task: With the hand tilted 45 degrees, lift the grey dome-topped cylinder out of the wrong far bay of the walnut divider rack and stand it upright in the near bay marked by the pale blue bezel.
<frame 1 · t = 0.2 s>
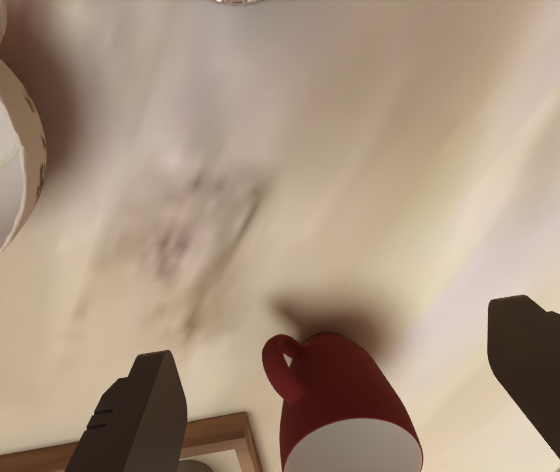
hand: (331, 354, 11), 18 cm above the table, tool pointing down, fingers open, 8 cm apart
mug: (312, 343, 33), on the table
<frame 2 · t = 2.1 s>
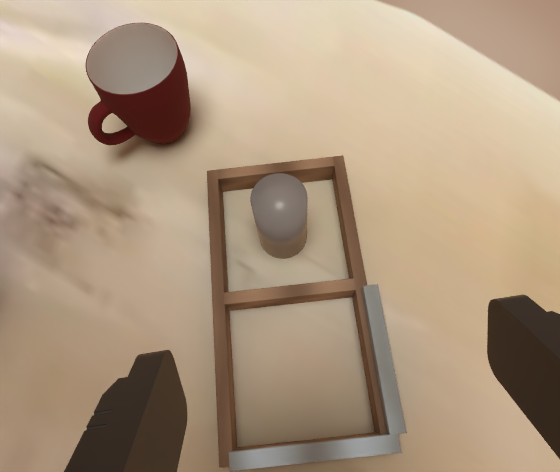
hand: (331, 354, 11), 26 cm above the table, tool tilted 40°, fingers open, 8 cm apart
grey dome-topped cylinder: (283, 236, 40), resting in divider rack
divider rack: (290, 298, 38), on the table
mug: (158, 137, 45), on the table
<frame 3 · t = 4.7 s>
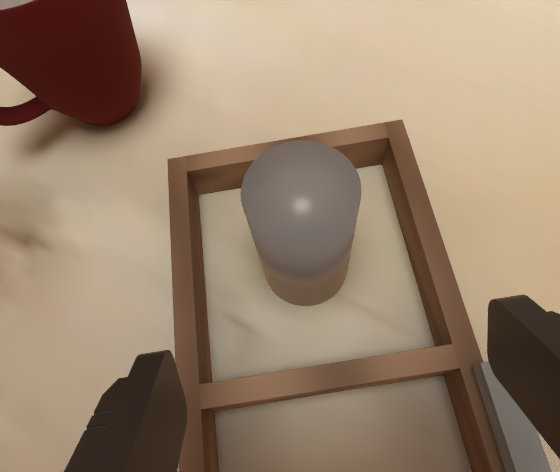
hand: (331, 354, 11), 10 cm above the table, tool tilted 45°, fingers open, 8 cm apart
grey dome-topped cylinder: (305, 265, 23), resting in divider rack
divider rack: (326, 382, 20), on the table
mug: (97, 116, 29), on the table
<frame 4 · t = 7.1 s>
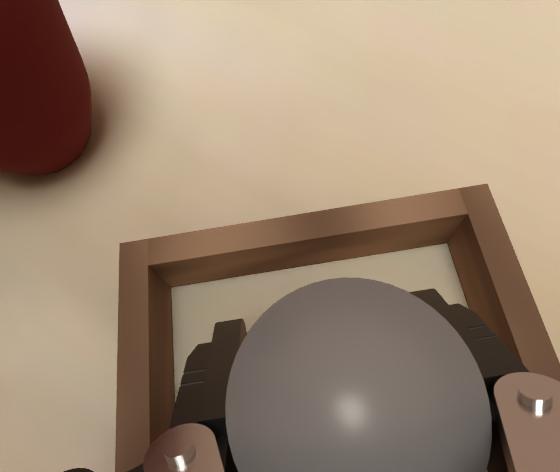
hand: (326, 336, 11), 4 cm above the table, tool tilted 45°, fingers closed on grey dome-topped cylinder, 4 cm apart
grey dome-topped cylinder: (334, 415, 14), resting in divider rack, touching gripper
mug: (32, 160, 20), on the table
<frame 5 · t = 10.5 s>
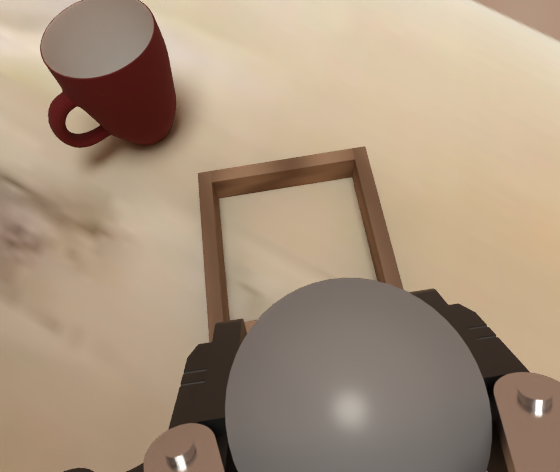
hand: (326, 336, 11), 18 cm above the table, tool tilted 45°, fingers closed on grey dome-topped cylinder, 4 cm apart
grey dome-topped cylinder: (335, 415, 14), point 14 cm above the table, touching gripper
divider rack: (308, 327, 30), on the table
mug: (140, 137, 38), on the table
when the fingers open (5 cm above the table, at t = 13.9 s): grey dome-topped cylinder drops 1 cm, resting in divider rack.
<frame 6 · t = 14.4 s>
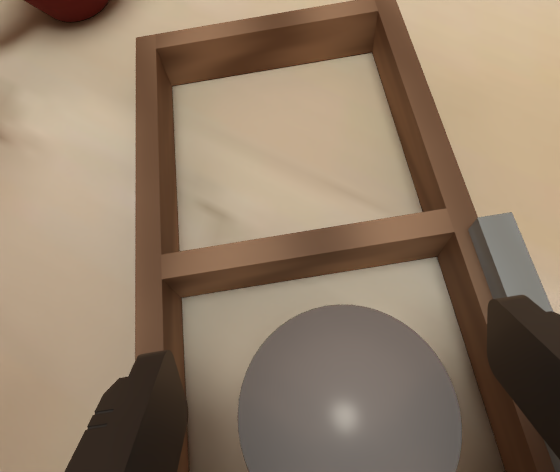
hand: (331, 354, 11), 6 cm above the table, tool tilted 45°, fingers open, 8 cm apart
grey dome-topped cylinder: (333, 418, 16), resting in divider rack
divider rack: (306, 266, 18), on the table
mug: (66, 15, 26), on the table
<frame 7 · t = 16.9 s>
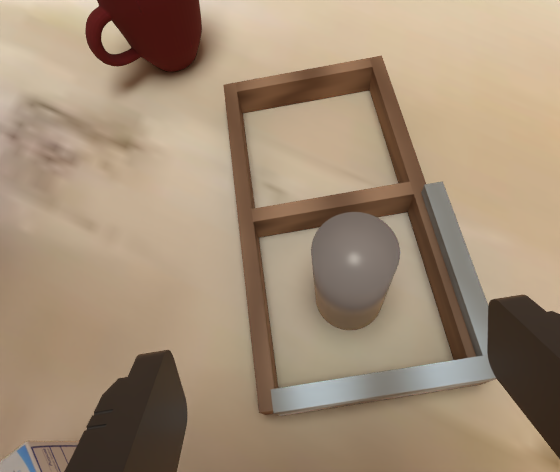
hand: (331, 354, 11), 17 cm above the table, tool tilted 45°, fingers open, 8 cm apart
grey dome-topped cylinder: (348, 297, 29), resting in divider rack
divider rack: (331, 218, 31), on the table
mug: (167, 66, 40), on the table
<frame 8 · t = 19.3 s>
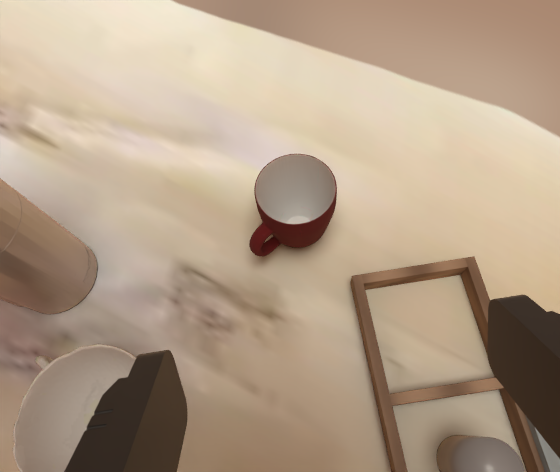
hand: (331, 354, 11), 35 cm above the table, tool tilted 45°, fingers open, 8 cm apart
grey dome-topped cylinder: (461, 461, 39), resting in divider rack
divider rack: (441, 392, 42), on the table
mug: (292, 239, 50), on the table
teacup: (115, 411, 44), on the table
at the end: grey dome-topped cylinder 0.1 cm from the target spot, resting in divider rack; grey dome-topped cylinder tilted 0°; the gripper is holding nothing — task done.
